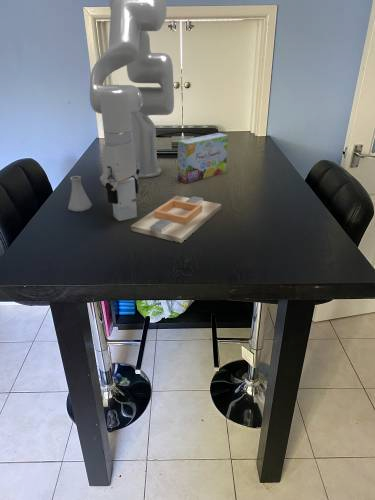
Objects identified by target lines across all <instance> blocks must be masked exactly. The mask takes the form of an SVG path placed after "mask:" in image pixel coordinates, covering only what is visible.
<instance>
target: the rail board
mask: <svg viewBox="0 0 375 500" xmlns="http://www.w3.org/2000/svg"><path fill="white" fill-rule="evenodd" d="M221 209H222V204H221V203H216V202H212V201H208V200H206V201H205V200H204V198H203V197H200V196H199V197H198V196H191V197H186V196H180V195H175V196H174V197H172V198H171V199H169V200H168V201H166V202H165V203H163V204H162V205H160V206H158V207H157V208H155V209H154V210H153V211H151V212H150V213H148V214H147V215H145V216H143V217H142V218H140V219H139V220H137V221H136V222H134V223H133V224H131V225H130V231H131V232H135V233H138V234H139V233H140V234H143V235H146V236H151V237H155V238H158V239H163V240H167V241H171V242H174V241H175V243H178V242H179V243H178V244H182V243H183V242H185V241H184V240H188V238H189V237H190V236H192V235H193V234H194V233H195V232H196V231H197V230H199V228H200V227H202V226H203V225H204V224H205V223H206V222H208V221H209V220H210V219H211V218H212V217H213V216H214V215H216V213H218V212H219V211H220V210H221ZM192 233H193V234H192Z"/></svg>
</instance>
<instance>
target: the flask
mask: <svg viewBox="0 0 375 500" xmlns="http://www.w3.org/2000/svg"><path fill="white" fill-rule="evenodd" d="M69 179H70V181H71V193H70V197H69V201H68V206H67V210H68V211H72V212H84V211H87V210H90V209H91V207H92V206H93V203H92V202H91V200H90V199H89V197H88V195H87V194H86V193H87V192H85V189H84V188H83V185H82V180H81V179H82V176H79V175H74V176H70V178H69Z"/></svg>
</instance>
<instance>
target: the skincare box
mask: <svg viewBox="0 0 375 500" xmlns="http://www.w3.org/2000/svg"><path fill="white" fill-rule="evenodd" d="M112 179H115V178H112ZM111 185H113V182H111ZM115 190H117V194H118V204H113V203H112V212H113V217H114V218H115V219H116V220H117V221H118V222H121V221H122V222H123V221H126V220H130V219H135V218H137V217H138V214H137V213H138V212H137V211H138V210H137V197H136V194H137V193H135V179H134V178H133V177H129V178H127V179H125V180H123V181H120V182H118V183H117V186H116V189H115Z"/></svg>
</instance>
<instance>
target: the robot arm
mask: <svg viewBox="0 0 375 500" xmlns="http://www.w3.org/2000/svg"><path fill="white" fill-rule="evenodd" d="M166 3H167V2H166V0H109V9H110V17H109V18H110V19H109V36H108V37H109V38H108V47H107V49H106V50H105V51H104V52H103V53H102V54H101V55H100V56H99V58H98V59H97V61H96V62H95V64H94V65H93V67H92V70H91V73H90V78H89V79H90V80H89V103H90V106H91V109H92V110H93V111H94V112H95V113H97V114H101V117H102V118H101V119H102V120H101V121H102V128H103V137H104V144H103V148H102V174H101V175H100V176H99V181H100V182H101V184H102V185H101V186H102V187H104V190H106V192H107V193H106V196H107V202H108V203H109V204H112V205H113V204H118V194H117V190H115V189H116V186H117V183H118V182H120V181H123V180H125V179H127V178H129V177H133V178H134V179H135V193H136V194H138V193H139V183H138V180H139V179H140V178H143V179H144V178H145V179H146V178H153V177H157V176H159V175H160V174H162V168H160V167H159V166H158V159H157V158H158V157H157V156H158V155H157V152H158V151H157V135H156V134H157V133H156V131H157V130H156V125H155V124H154V122H153V120H152V119H151V118H150V116H168V115H169V116H170V115H171V114H172V113H173V112H174V110H175V109H174V108H175V93H174V91H175V89H174V88H175V87H174V67H173V62H172V58H171V56H170V55H169V54H167V53H164V52H152V51H151V44H150V41H151V40H150V39H151V38H150V35H149V33H148V32H158V31H160V30H161V29H162V26H163V25H164V23H165V20H166V17H167V4H166ZM123 67H126V72H127V78H128V79H129V81H130V82H131V83H134V84H158V85H159V86H135V85H133V84H131V85H130V84H104V82H105V80H106V79H107V78H108V77H109V75H111V74H112V73H114V72H115V71H118V70H119V69H121V68H123ZM112 178H115V179H112ZM111 182H113V185H111Z"/></svg>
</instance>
